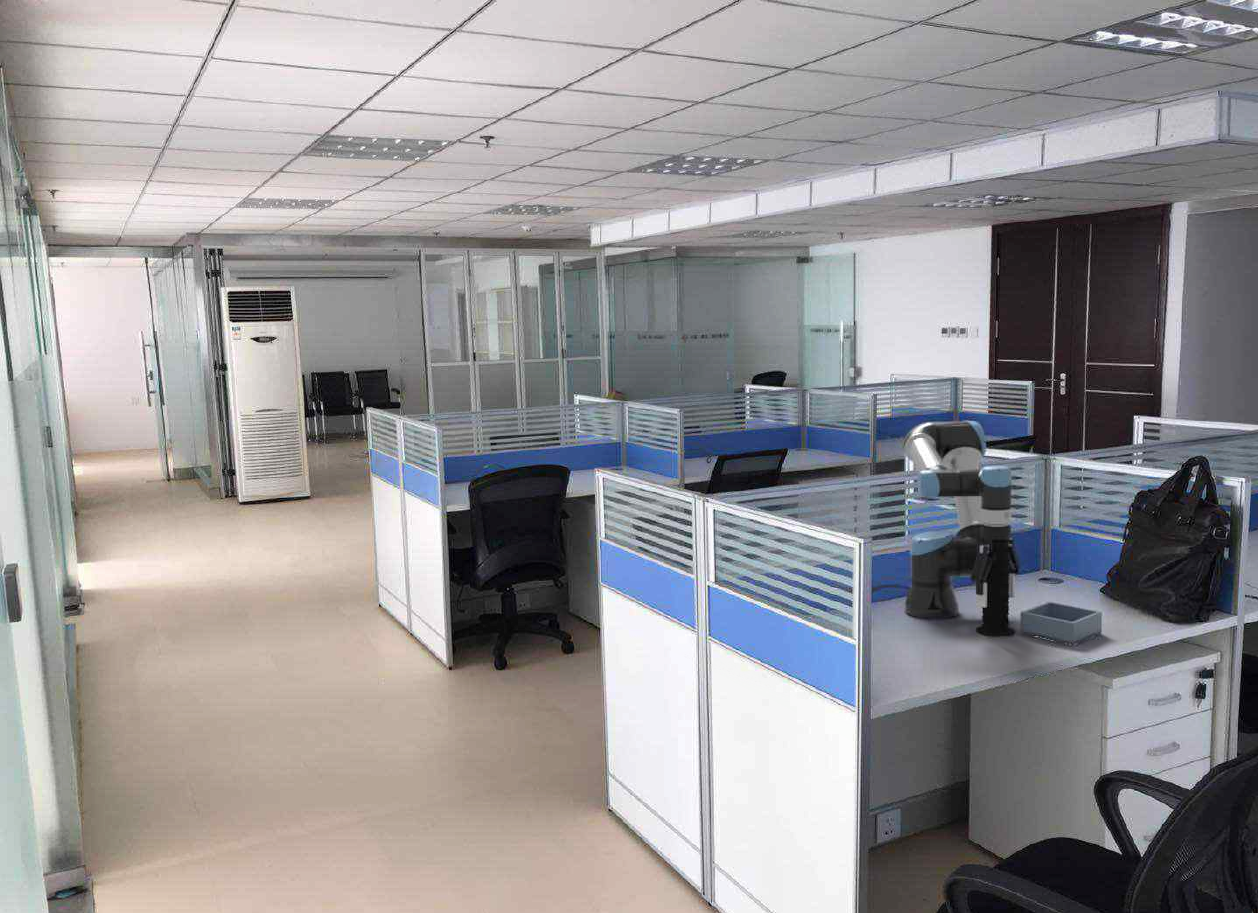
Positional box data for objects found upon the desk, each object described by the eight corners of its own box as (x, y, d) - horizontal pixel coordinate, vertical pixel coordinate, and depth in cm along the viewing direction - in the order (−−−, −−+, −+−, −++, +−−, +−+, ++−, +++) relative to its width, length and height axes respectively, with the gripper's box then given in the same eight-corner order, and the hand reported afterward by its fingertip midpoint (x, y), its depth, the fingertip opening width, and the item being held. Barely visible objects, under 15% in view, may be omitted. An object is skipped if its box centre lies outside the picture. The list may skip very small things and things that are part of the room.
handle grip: (978, 636, 259) (1018, 637, 257) (979, 539, 256) (1019, 539, 254) (973, 625, 269) (1011, 626, 267) (973, 532, 265) (1012, 532, 263)
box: (1020, 633, 260) (1020, 612, 259) (1048, 622, 269) (1049, 601, 268) (1073, 646, 248) (1073, 623, 248) (1101, 633, 257) (1101, 611, 256)
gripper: (982, 532, 249) (981, 613, 251) (1034, 519, 264) (1033, 595, 266) (956, 528, 255) (956, 607, 257) (1008, 515, 270) (1008, 590, 272)
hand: (995, 601), depth 262 cm, fingers open, 13 cm apart
